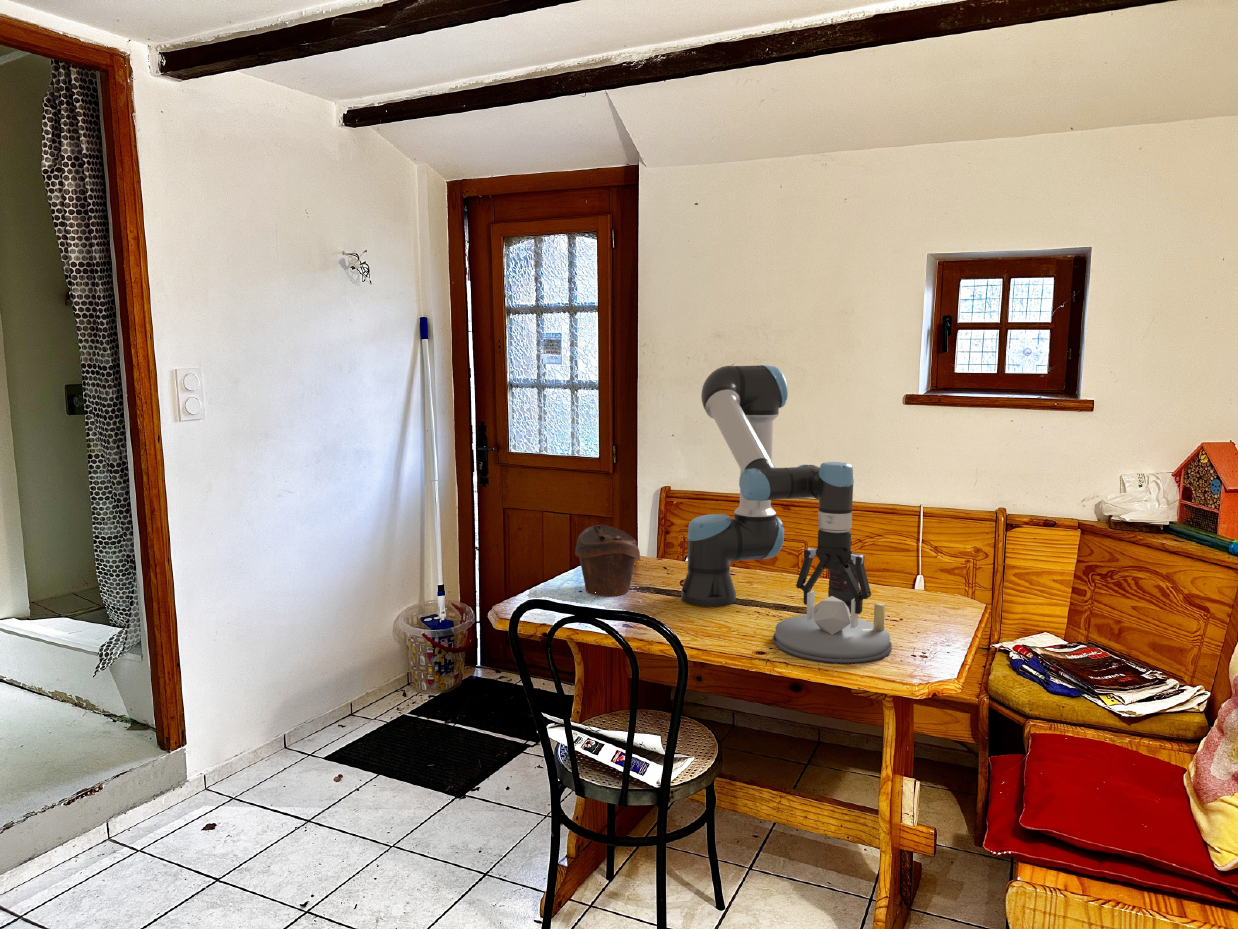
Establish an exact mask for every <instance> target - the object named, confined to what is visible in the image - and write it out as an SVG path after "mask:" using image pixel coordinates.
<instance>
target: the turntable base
mask: <svg viewBox="0 0 1238 929" xmlns="http://www.w3.org/2000/svg"><path fill="white" fill-rule="evenodd" d="M772 642H773V643H772V644H774V646H775V647H776V648H777V649H778V650H779V651H781V652H782V653H785V654H787V655H789V656H792V657H794V658H797V659H800V660H805V661H809V662H814V663H819V664H820V663H821V664H829V665H830V664H831V665H861V664H868V663H874V662H878V661H880V660H883V659H886V658H887V657H888V656H889V655H890V654H891V653H892V647H893V646H892V642H891V641H890V642H889V648H888V649H887V650H886V651H885V652H883V653H881V654H878V655H875V656H871V657H865V658H855V659H835V658H824V657H817V656H811V655H807V654H803V653H799V652H796V651H793V650H791V649H788V648H786V647H784V646H783V645H781V644H780V643H779V642H778V641H777V640H776V637H775V632H774V633H773V638H772Z"/></svg>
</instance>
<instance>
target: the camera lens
mask: <svg viewBox="0 0 1238 929" xmlns="http://www.w3.org/2000/svg"><path fill="white" fill-rule="evenodd" d="M852 554H854V555H860V554H858V553H856V552H852ZM848 564H849V566H850V568H851V572H852V574H853V576H854V578H855V580H856V582H857V584H858V586H859V587H860V585H859V581H858V577H857V573H856V568H855V564H854V563H853V560H852V559H851V560H850V561H849V562H848ZM828 574H829V577H828V578H829V579H828V590H827V592H828V594H827V595H828V597H831V596H833V597H835V598H837V599H839V600H841V601H844V602H845V604H846V605H847V607H848V608H849V611H850V613H851V600H853V599H854V596H853V594H852V592H851V590H850V588H849V586H848V584H847V582H846V580H845V578H844V576H843V574H841V572H840V570H834V569H828ZM828 597H827V598H828Z"/></svg>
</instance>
